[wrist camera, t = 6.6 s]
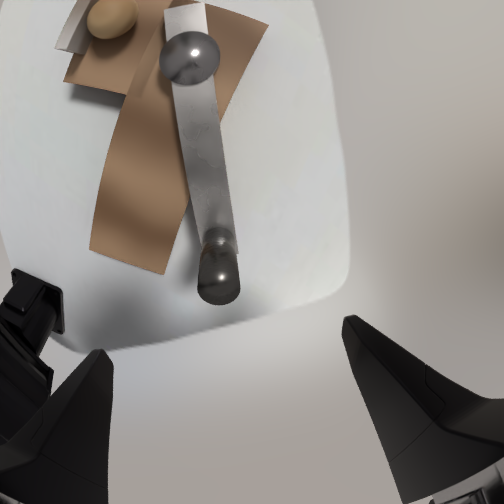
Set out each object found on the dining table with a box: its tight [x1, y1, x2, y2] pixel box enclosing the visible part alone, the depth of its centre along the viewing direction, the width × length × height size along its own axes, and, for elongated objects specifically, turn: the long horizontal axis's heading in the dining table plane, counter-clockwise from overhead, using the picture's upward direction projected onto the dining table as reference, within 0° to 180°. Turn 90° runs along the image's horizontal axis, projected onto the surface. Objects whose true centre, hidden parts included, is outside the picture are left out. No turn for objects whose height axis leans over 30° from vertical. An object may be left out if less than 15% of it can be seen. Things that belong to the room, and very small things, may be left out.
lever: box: [159, 2, 240, 305], centre depth 12 cm, size 16×3×6 cm, turn 6°
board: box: [54, 0, 269, 275], centre depth 13 cm, size 18×11×5 cm, turn 156°
